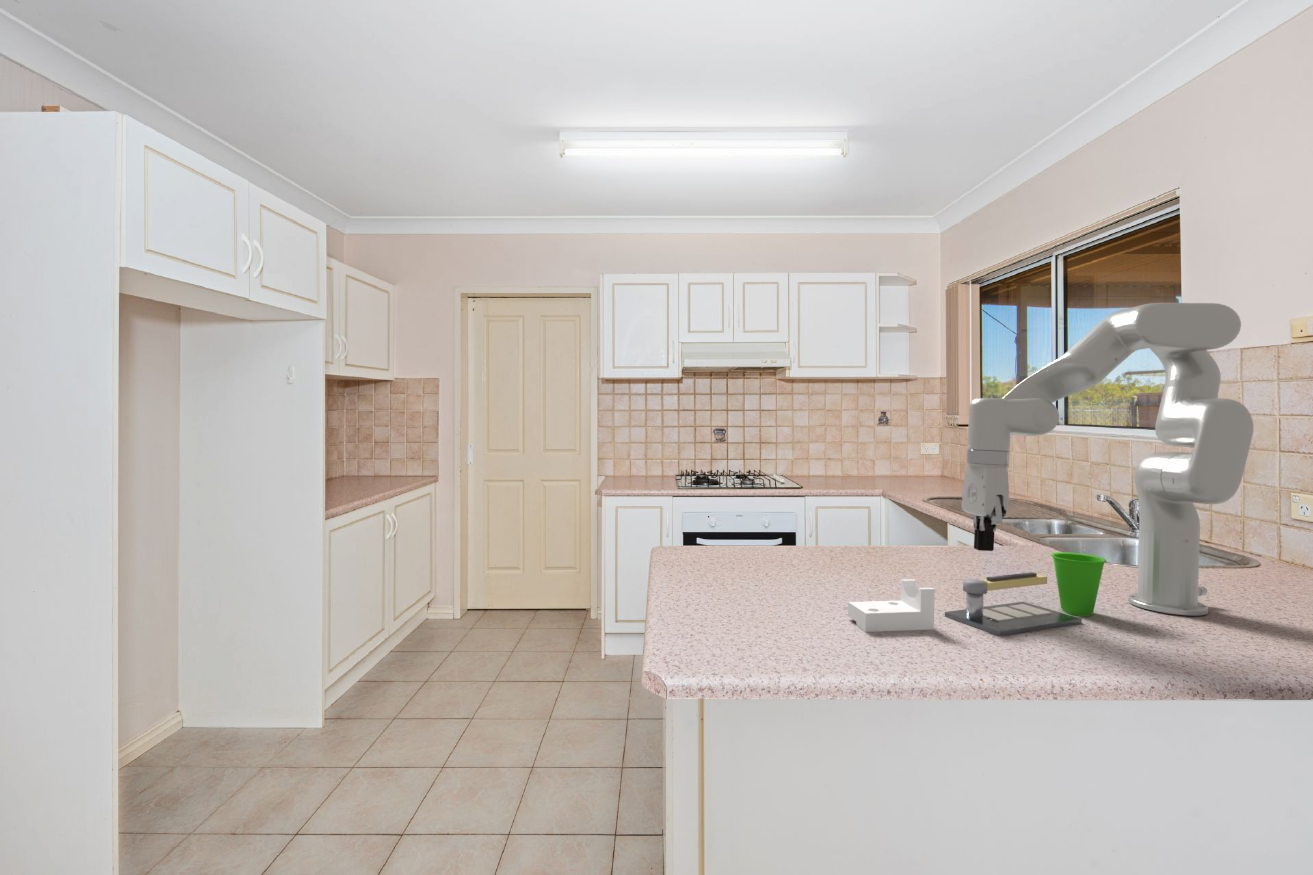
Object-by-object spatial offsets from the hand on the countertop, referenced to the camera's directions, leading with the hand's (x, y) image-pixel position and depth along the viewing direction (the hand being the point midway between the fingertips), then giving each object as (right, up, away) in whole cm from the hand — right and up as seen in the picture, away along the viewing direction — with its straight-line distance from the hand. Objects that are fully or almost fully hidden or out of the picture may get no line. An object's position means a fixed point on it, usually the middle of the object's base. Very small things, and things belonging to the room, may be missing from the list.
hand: (983, 549), depth 126 cm
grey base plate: (+1, -12, -8) cm, 14 cm away
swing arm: (0, -6, -8) cm, 10 cm away
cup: (+17, -12, -3) cm, 21 cm away
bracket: (-23, -12, -11) cm, 29 cm away
